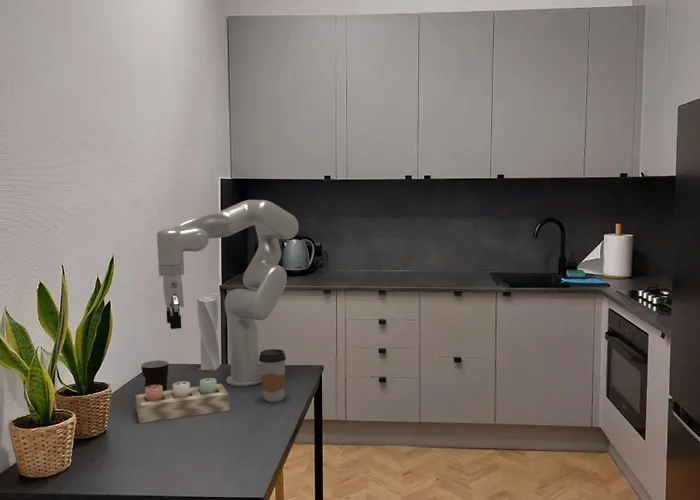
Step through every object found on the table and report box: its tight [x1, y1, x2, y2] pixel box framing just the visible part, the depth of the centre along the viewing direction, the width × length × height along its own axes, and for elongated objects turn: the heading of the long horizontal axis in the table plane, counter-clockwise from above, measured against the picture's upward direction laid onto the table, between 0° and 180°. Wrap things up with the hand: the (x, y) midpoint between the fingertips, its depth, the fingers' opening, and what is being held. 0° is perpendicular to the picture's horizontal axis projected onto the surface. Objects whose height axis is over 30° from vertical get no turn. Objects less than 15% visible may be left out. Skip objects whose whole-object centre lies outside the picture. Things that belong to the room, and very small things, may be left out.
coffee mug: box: [140, 359, 169, 391], centre depth 240 cm, size 12×9×10 cm
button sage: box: [199, 377, 218, 395], centre depth 224 cm, size 5×5×5 cm
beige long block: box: [134, 383, 230, 424], centre depth 222 cm, size 26×12×5 cm, turn 110°
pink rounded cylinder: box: [144, 385, 163, 402], centre depth 219 cm, size 5×5×5 cm
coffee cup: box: [258, 348, 287, 403], centre depth 230 cm, size 8×8×15 cm
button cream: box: [172, 380, 191, 398], centre depth 221 cm, size 5×5×5 cm
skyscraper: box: [196, 292, 222, 371], centre depth 267 cm, size 8×8×28 cm
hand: (174, 325), depth 227 cm, fingers open, 9 cm apart
